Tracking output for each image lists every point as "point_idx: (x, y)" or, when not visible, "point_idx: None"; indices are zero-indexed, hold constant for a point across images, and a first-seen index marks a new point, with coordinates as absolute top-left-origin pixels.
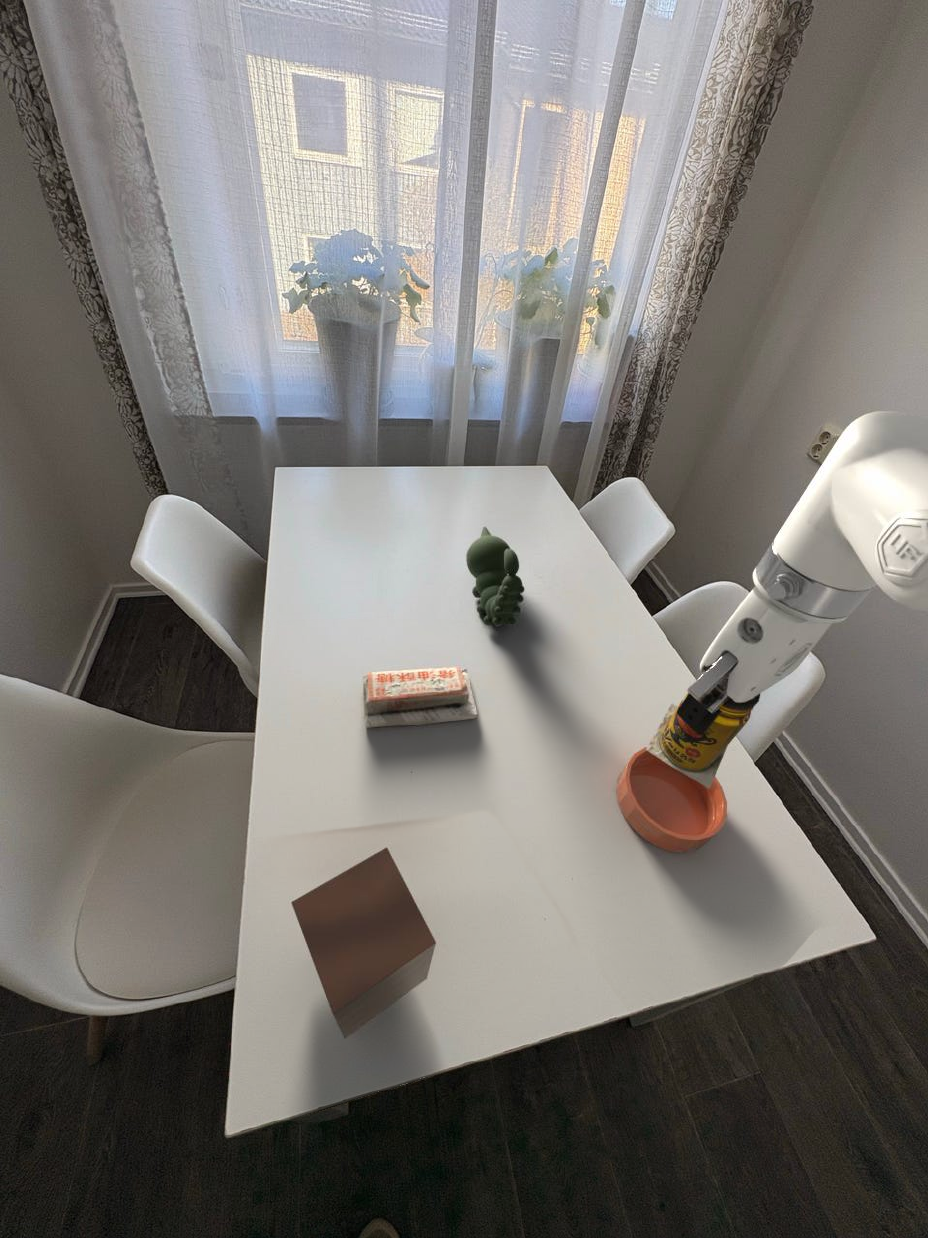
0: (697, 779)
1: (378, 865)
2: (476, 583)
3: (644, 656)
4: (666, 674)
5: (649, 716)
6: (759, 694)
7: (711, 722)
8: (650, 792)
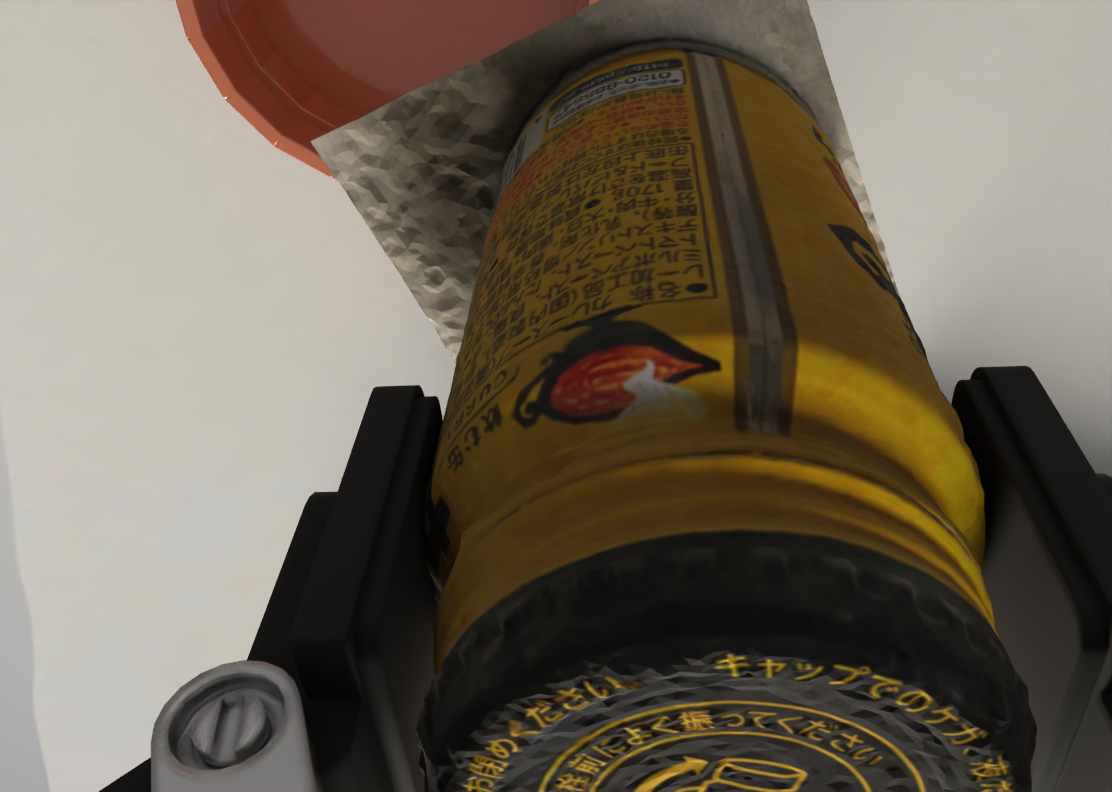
0: (792, 13)
1: None
2: None
3: (104, 453)
4: (58, 370)
5: (233, 266)
6: (583, 660)
7: (1106, 500)
8: (436, 20)
